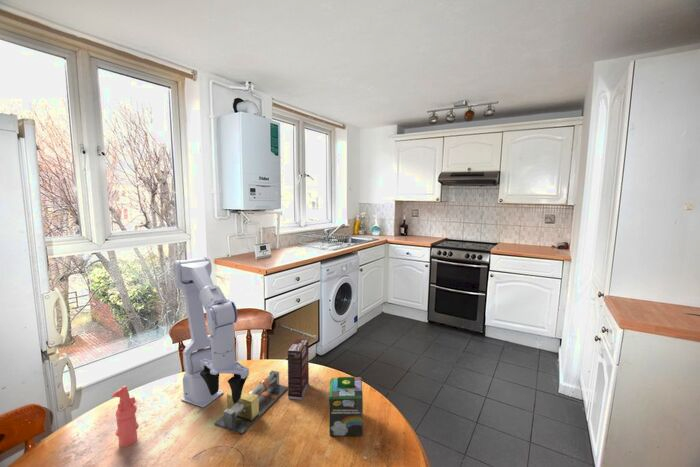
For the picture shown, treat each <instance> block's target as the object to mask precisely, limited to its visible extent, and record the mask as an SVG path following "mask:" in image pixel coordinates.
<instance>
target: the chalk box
mask: <svg viewBox="0 0 700 467" xmlns="http://www.w3.org/2000/svg"><path fill="white" fill-rule="evenodd" d="M362 379H363V377H361V376H338V377H332V378H330V381H329V391H328V418H329V419H328V424H329V436H330V437H334V436H335V437H343V436H344V437H363V435H364V423H363V422H364V421H363V420H364V411H363V410H364V408H363V407H364V404H363V403H364V401H363V400H364V395H363V380H362Z"/></svg>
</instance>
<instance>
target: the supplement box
mask: <svg viewBox="0 0 700 467" xmlns="http://www.w3.org/2000/svg"><path fill="white" fill-rule="evenodd" d="M309 341H310V340H309V339H301V338H300V339H297V338H296V339H295V340H294V342H293V343H292V344H291V346H290V347H289V349H288V350H287V387H288V389H287V398H288V399H289V400H291V399H292V400H299V401H300V400H301V401H302V400H303V398H304V396H305V392H306V391H307V389H308V387H309V384H310V383H309V381H310V380H309V379H310V378H309V377H310V376H309V375H310V374H309V369H310V368H309V365H310V364H309V363H310V362H309V357H310V356H309Z"/></svg>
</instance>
